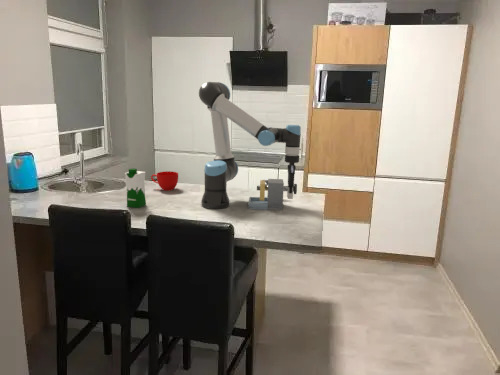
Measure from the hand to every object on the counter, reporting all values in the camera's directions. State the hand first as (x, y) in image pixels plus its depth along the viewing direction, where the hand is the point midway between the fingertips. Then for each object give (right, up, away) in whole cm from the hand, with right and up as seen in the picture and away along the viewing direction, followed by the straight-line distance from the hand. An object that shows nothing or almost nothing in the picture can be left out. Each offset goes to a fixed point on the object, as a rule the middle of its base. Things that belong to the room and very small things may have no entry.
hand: (289, 197), depth 215 cm
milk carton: (-81, -4, -4) cm, 82 cm away
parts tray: (-17, -4, +2) cm, 18 cm away
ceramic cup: (-74, +4, +31) cm, 81 cm away
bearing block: (-8, -5, +1) cm, 9 cm away
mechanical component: (-11, -1, +19) cm, 22 cm away
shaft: (-7, +2, 0) cm, 8 cm away
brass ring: (-15, +4, 0) cm, 15 cm away
